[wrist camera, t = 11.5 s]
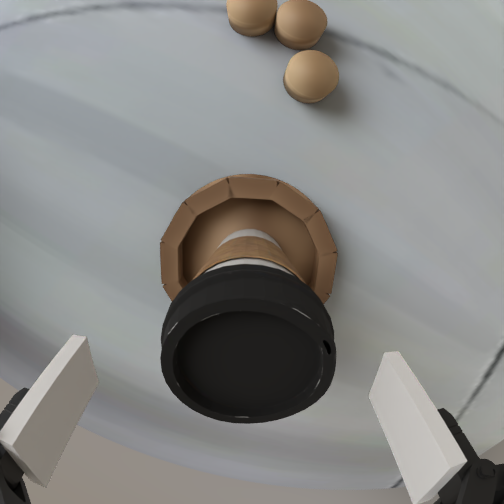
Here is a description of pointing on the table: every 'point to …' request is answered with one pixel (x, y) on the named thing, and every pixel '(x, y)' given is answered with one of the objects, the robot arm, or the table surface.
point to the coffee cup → (248, 335)
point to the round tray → (248, 217)
